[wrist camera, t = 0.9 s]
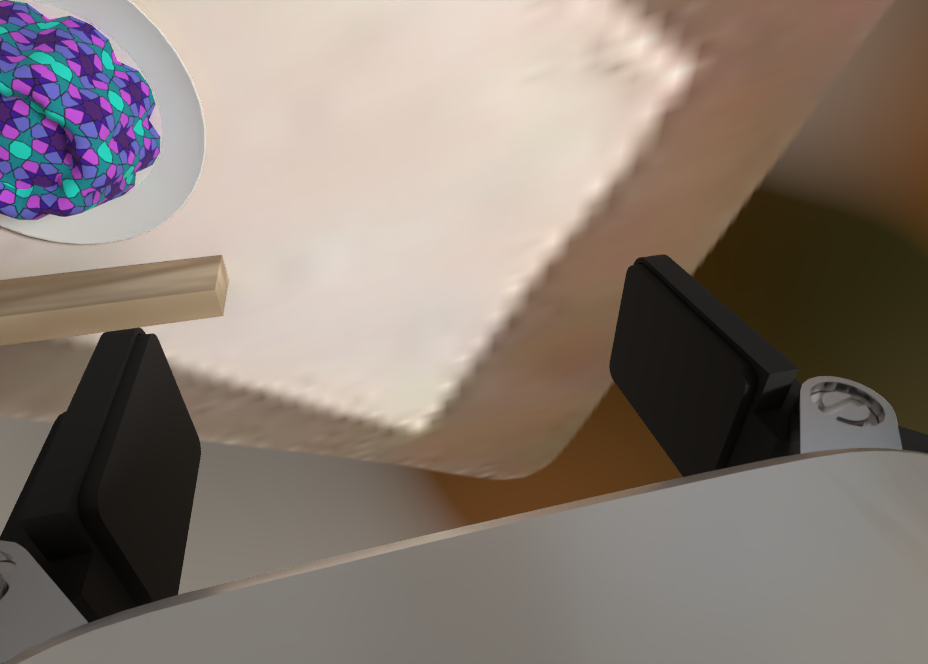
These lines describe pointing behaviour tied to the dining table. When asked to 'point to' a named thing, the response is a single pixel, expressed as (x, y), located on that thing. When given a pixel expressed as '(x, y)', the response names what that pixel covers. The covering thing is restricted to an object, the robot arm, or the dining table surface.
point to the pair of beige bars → (111, 299)
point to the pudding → (92, 123)
